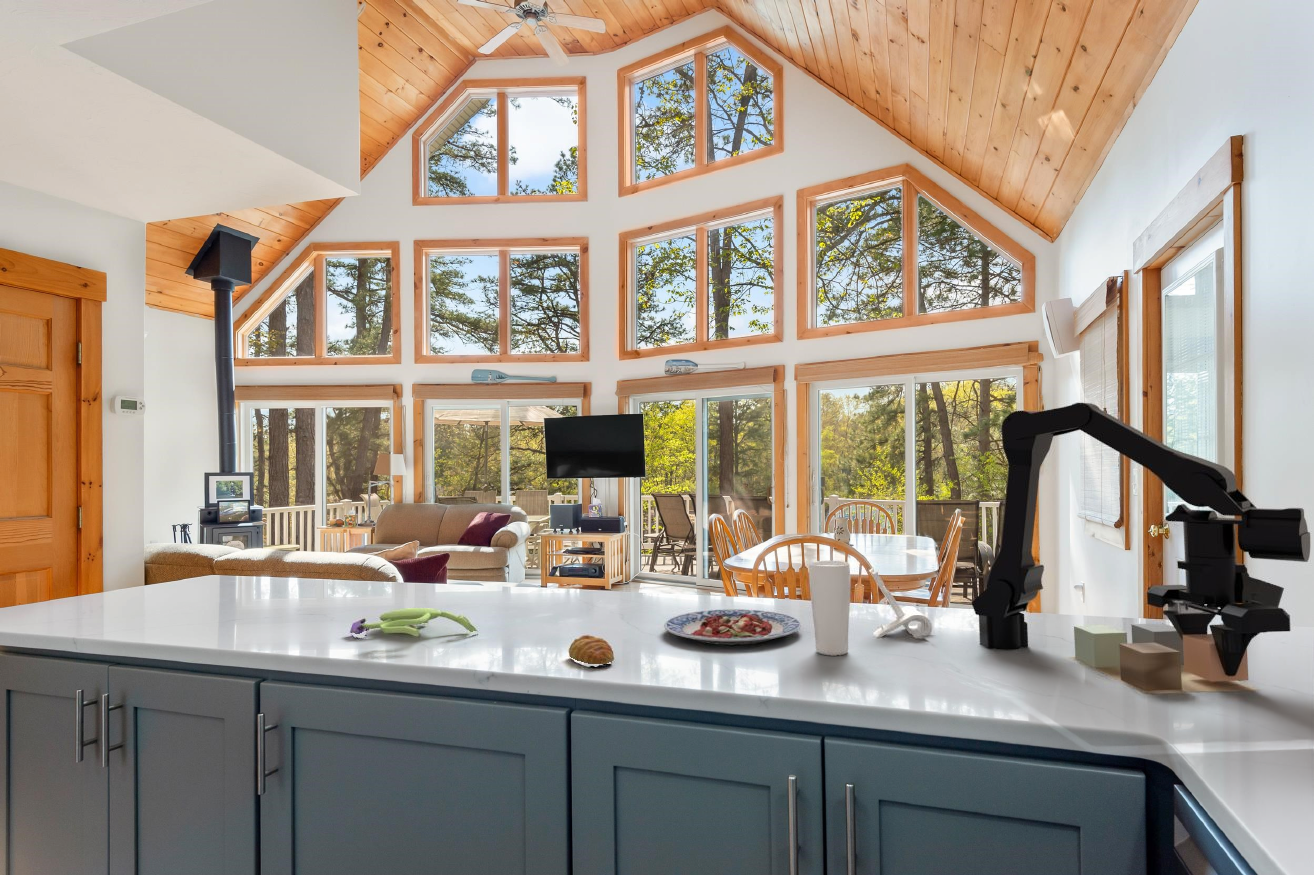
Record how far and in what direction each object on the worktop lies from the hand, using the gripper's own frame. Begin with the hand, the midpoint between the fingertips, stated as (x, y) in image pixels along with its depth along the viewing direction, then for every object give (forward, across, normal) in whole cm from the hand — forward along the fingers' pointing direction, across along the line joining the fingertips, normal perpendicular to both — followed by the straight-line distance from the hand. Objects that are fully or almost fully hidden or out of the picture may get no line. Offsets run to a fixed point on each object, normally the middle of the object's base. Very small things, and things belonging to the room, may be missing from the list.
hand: (1215, 670), depth 102 cm
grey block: (+2, +11, 0) cm, 11 cm away
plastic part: (+3, +36, +31) cm, 48 cm away
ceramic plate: (+3, +40, +62) cm, 74 cm away
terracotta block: (+1, 0, 0) cm, 1 cm away
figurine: (+3, +46, +124) cm, 132 cm away
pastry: (+3, +24, +87) cm, 90 cm away
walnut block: (+2, 0, +9) cm, 9 cm away
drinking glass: (+3, +24, +46) cm, 53 cm away
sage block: (+2, +11, +9) cm, 14 cm away
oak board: (+2, +6, +4) cm, 8 cm away
